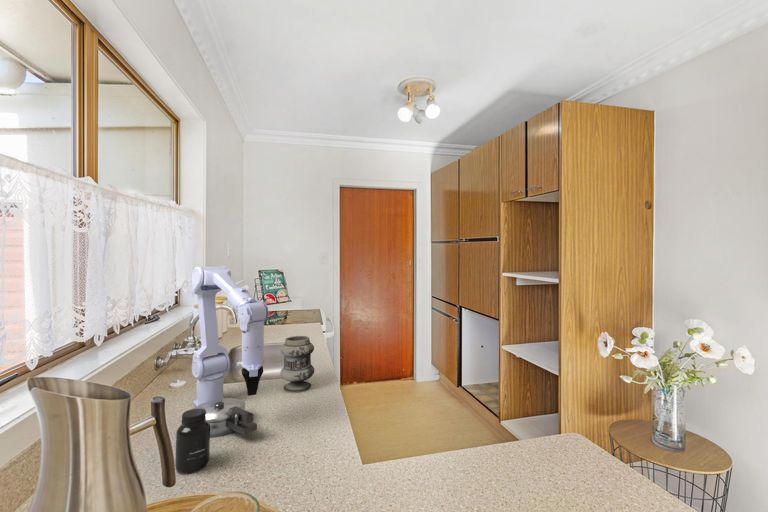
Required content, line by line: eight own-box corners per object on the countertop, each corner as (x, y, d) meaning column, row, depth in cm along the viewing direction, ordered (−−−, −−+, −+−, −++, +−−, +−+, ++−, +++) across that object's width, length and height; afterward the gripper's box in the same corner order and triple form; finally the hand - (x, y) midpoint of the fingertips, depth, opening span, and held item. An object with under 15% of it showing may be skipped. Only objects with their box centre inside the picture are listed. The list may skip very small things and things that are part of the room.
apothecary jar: (295, 379, 135) (296, 332, 135) (321, 385, 129) (321, 336, 129) (272, 390, 124) (273, 339, 124) (299, 396, 118) (299, 343, 118)
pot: (183, 428, 96) (183, 404, 96) (227, 411, 107) (227, 389, 107) (227, 452, 84) (227, 425, 84) (271, 430, 95) (271, 406, 95)
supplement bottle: (194, 476, 75) (195, 421, 75) (167, 472, 76) (168, 417, 76) (216, 458, 82) (216, 407, 82) (191, 455, 83) (191, 404, 83)
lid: (181, 412, 96) (182, 403, 96) (228, 396, 107) (228, 388, 107) (224, 436, 84) (224, 425, 84) (272, 415, 95) (272, 406, 95)
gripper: (237, 340, 102) (236, 387, 102) (237, 353, 89) (236, 407, 89) (262, 338, 105) (261, 383, 105) (266, 351, 92) (265, 402, 92)
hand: (252, 394), depth 97 cm, fingers closed
